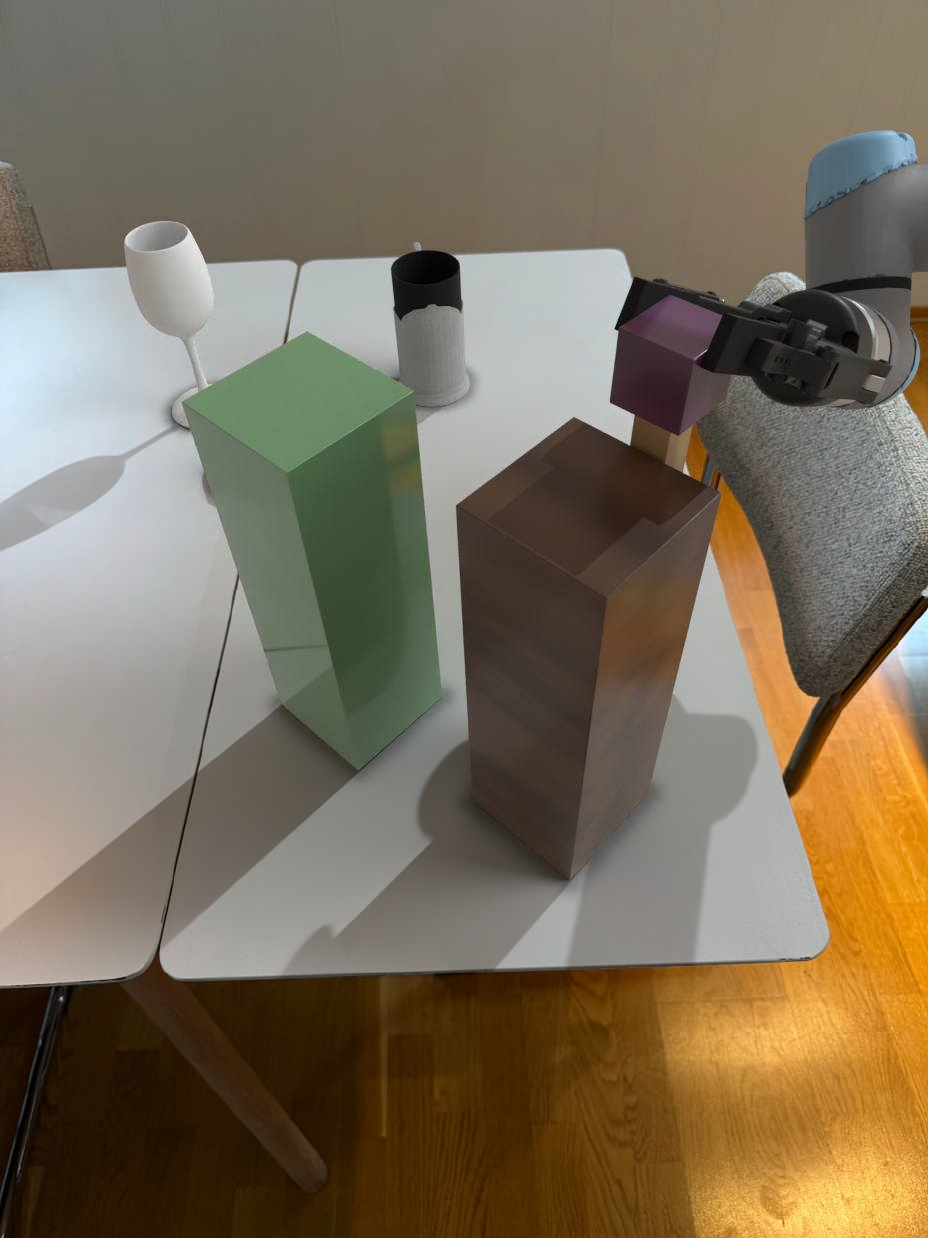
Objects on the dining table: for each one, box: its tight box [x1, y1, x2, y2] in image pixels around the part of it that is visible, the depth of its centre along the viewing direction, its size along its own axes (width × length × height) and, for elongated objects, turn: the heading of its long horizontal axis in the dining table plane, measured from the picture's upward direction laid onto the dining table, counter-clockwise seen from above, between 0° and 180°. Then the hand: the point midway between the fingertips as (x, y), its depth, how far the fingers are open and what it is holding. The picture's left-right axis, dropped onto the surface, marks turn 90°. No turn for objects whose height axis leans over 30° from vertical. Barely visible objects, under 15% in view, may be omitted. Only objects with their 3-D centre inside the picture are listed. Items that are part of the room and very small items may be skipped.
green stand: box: [181, 331, 443, 771], centre depth 66 cm, size 10×10×32 cm
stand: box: [455, 416, 723, 881], centre depth 60 cm, size 10×10×32 cm
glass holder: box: [390, 241, 471, 408], centre depth 104 cm, size 9×14×15 cm, turn 9°
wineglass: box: [123, 220, 215, 429], centre depth 99 cm, size 9×9×21 cm
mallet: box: [609, 295, 732, 473], centre depth 51 cm, size 16×4×4 cm
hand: (673, 323), depth 44 cm, fingers closed on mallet, 5 cm apart
